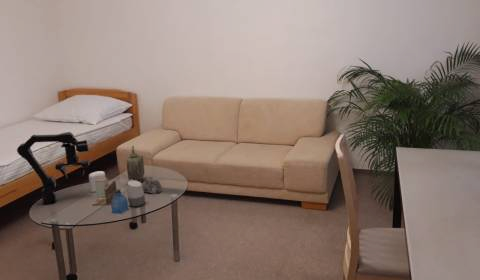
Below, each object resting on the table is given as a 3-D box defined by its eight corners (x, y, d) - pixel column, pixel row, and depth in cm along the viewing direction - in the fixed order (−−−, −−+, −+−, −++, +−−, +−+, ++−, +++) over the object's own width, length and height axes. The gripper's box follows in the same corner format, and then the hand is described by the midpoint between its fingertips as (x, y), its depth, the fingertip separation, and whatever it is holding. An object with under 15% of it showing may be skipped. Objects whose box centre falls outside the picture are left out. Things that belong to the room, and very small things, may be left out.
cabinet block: (97, 201, 253) (94, 181, 250) (101, 197, 258) (98, 178, 255) (106, 201, 252) (103, 181, 249) (110, 197, 258) (107, 177, 255)
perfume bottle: (128, 209, 240) (125, 189, 238) (120, 213, 235) (118, 192, 232) (119, 207, 243) (116, 188, 240) (112, 212, 238) (109, 191, 235)
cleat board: (92, 205, 249) (89, 189, 247) (101, 196, 263) (99, 181, 260) (109, 204, 248) (106, 188, 246) (117, 196, 262) (115, 180, 260)
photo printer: (105, 187, 279) (103, 169, 276) (107, 189, 276) (105, 170, 273) (89, 191, 274) (87, 172, 271) (91, 192, 270) (88, 174, 267)
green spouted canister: (132, 179, 292) (127, 144, 286) (145, 178, 293) (141, 143, 287) (129, 186, 278) (124, 149, 272) (143, 185, 279) (138, 148, 273)
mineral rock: (139, 191, 269) (137, 175, 266) (155, 186, 274) (154, 172, 272) (147, 196, 258) (145, 180, 256) (163, 192, 264) (162, 176, 261)
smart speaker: (141, 208, 241) (138, 184, 238) (126, 207, 243) (123, 184, 239) (147, 201, 250) (145, 178, 247) (133, 201, 252) (130, 178, 248)
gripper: (89, 148, 265) (92, 172, 269) (57, 151, 262) (61, 175, 266) (86, 153, 254) (89, 177, 258) (53, 156, 251) (57, 181, 255)
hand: (74, 178), depth 259 cm, fingers open, 9 cm apart
